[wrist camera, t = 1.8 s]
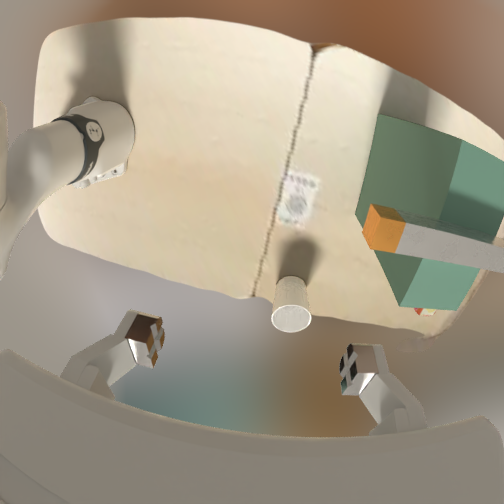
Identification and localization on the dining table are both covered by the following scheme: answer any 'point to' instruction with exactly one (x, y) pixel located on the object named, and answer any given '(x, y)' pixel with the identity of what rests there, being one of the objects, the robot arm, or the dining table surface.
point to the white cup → (291, 305)
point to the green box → (431, 203)
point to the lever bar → (431, 239)
